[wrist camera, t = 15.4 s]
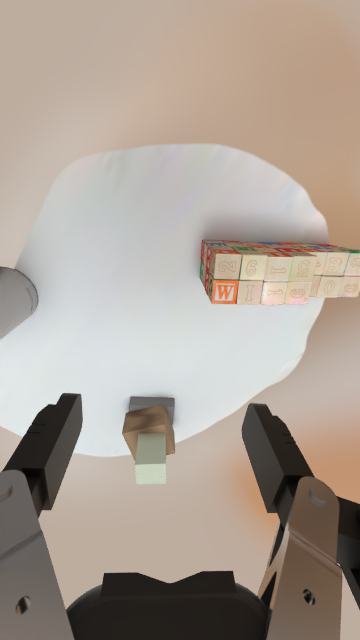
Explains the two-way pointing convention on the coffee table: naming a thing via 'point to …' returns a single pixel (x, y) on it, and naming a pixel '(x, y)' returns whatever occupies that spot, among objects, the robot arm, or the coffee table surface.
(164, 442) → the sage block
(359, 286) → the stack of blocks
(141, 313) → the coffee table surface
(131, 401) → the charcoal slab
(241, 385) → the coffee table surface
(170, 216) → the coffee table surface
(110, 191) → the coffee table surface
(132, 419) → the walnut block
